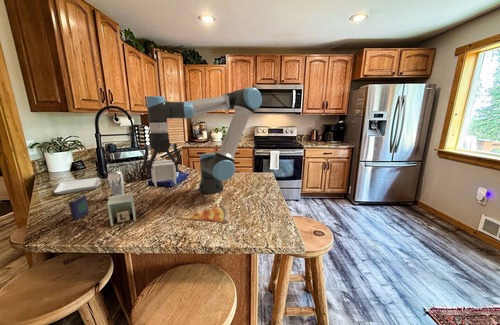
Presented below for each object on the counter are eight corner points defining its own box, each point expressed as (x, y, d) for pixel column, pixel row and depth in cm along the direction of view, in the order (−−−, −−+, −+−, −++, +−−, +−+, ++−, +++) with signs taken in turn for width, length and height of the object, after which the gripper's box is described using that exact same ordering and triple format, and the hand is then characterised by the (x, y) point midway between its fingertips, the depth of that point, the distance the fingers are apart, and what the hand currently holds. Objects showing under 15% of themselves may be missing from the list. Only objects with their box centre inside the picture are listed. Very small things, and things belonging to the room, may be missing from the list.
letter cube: (118, 218, 91) (117, 209, 90) (130, 215, 93) (128, 207, 92) (117, 222, 87) (116, 213, 86) (129, 220, 90) (128, 210, 89)
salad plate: (99, 189, 129) (98, 184, 128) (54, 197, 117) (52, 191, 116) (100, 181, 146) (99, 176, 145) (61, 187, 134) (60, 182, 133)
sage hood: (113, 217, 92) (109, 196, 90) (135, 212, 96) (132, 193, 94) (111, 226, 84) (107, 204, 82) (135, 220, 89) (132, 199, 87)
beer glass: (119, 201, 110) (114, 174, 107) (108, 200, 111) (103, 174, 108) (129, 196, 117) (125, 171, 113) (118, 195, 118) (114, 170, 115)
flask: (84, 211, 98) (80, 190, 96) (91, 211, 98) (87, 190, 96) (70, 221, 89) (65, 198, 87) (78, 220, 89) (73, 198, 87)
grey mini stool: (153, 181, 98) (151, 161, 95) (173, 179, 102) (171, 159, 100) (155, 187, 90) (152, 165, 88) (176, 183, 94) (174, 163, 92)
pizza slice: (195, 205, 105) (195, 201, 105) (236, 208, 101) (236, 204, 101) (180, 219, 90) (180, 215, 90) (228, 223, 86) (228, 219, 86)
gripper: (131, 133, 82) (138, 186, 87) (185, 131, 93) (189, 178, 98) (131, 132, 89) (138, 181, 94) (182, 130, 99) (186, 174, 104)
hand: (164, 179), depth 96 cm, fingers closed on grey mini stool, 9 cm apart
